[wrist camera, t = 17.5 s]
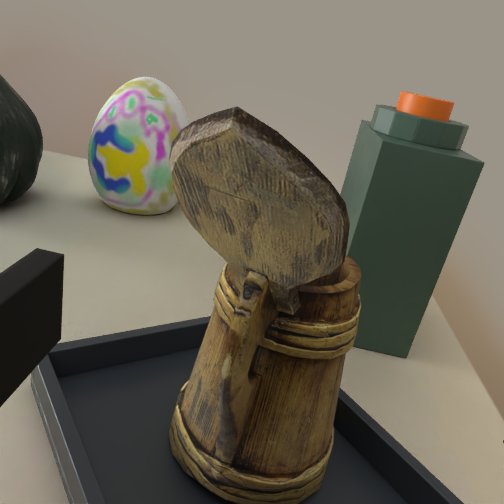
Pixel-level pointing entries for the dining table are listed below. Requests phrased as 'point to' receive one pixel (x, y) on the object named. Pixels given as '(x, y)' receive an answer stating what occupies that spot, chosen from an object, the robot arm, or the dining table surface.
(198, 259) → the dining table surface
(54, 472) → the dining table surface
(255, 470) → the wooden mug
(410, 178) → the post
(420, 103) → the button
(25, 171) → the squash
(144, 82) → the decorative egg
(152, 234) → the dining table surface
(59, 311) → the robot arm
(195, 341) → the tray
